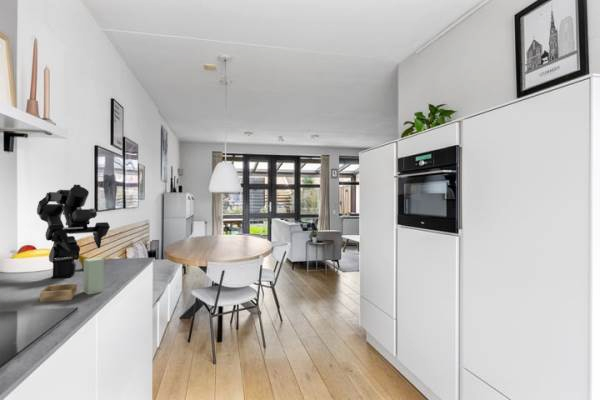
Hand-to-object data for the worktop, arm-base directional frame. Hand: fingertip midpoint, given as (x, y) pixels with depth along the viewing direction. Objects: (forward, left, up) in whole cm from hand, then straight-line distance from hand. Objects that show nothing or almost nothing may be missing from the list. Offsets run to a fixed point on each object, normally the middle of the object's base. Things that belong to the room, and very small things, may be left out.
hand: (84, 248), depth 113 cm
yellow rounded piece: (-6, +32, -14) cm, 35 cm away
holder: (-5, -10, -13) cm, 18 cm away
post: (+4, -7, -14) cm, 16 cm away
